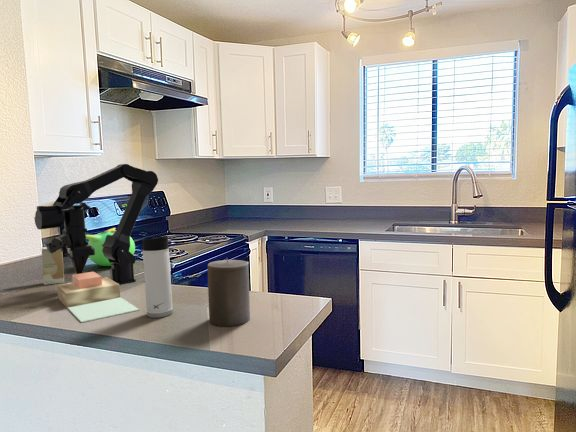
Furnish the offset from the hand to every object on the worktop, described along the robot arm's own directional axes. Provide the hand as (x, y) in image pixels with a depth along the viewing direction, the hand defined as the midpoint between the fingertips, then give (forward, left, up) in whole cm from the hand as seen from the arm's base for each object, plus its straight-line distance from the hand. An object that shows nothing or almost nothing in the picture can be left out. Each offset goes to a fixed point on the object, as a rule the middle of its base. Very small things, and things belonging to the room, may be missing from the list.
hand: (79, 275), depth 138 cm
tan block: (0, +11, -5) cm, 12 cm away
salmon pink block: (0, +10, 0) cm, 10 cm away
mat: (0, +26, -5) cm, 26 cm away
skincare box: (+4, -19, -5) cm, 20 cm away
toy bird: (-19, -34, -5) cm, 39 cm away
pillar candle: (-21, +56, -5) cm, 60 cm away
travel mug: (-10, +40, -5) cm, 42 cm away
